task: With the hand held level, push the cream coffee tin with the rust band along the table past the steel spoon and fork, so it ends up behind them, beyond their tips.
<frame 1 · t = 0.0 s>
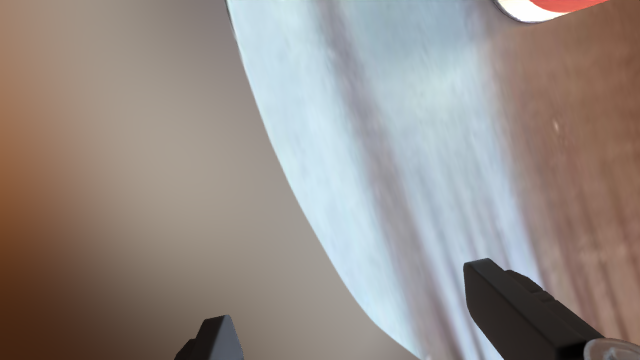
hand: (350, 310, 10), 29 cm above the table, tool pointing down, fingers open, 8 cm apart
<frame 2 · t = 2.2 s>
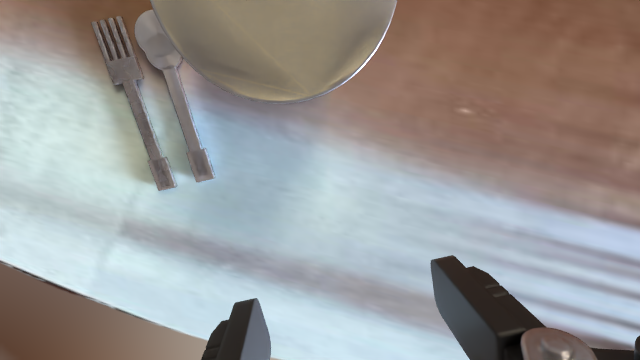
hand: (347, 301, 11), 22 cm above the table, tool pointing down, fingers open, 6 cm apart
coffee tin: (286, 29, 28), on the table
fork: (140, 108, 29), on the table
spoon: (180, 99, 29), on the table
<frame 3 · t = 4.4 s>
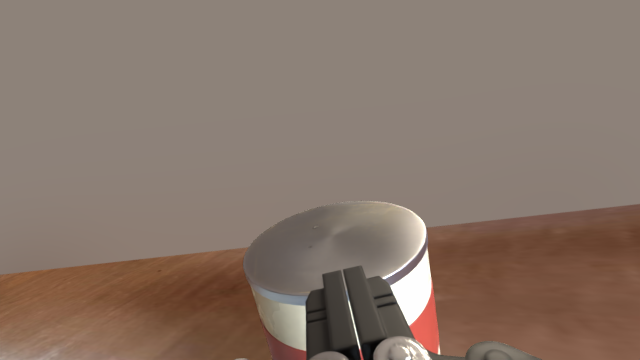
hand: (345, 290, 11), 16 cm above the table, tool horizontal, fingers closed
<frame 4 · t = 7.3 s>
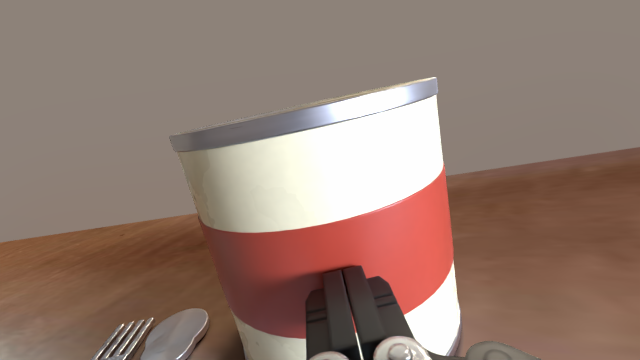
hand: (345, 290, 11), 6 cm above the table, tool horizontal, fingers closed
coffee tin: (347, 310, 19), on the table, touching gripper
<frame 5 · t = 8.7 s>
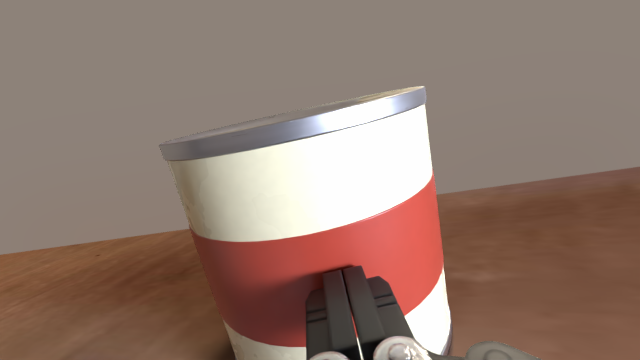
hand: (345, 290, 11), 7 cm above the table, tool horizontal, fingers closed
coffee tin: (340, 316, 19), on the table, touching gripper
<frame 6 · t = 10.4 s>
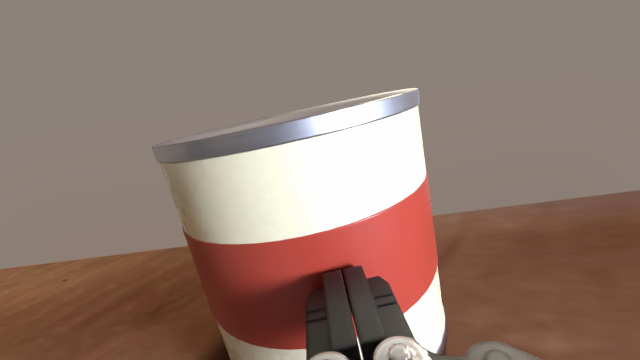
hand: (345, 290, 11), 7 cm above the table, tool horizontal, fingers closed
coffee tin: (335, 318, 19), on the table, touching gripper
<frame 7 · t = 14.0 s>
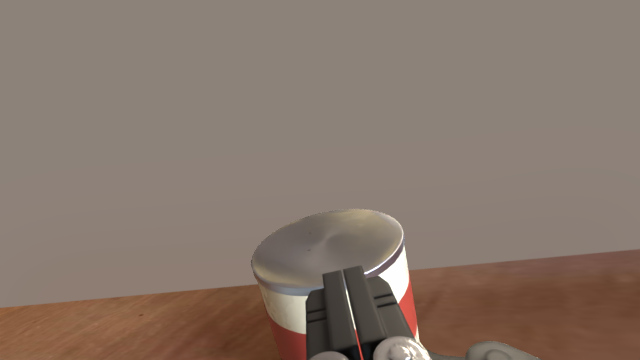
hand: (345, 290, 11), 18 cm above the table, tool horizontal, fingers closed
coffee tin: (353, 357, 29), on the table
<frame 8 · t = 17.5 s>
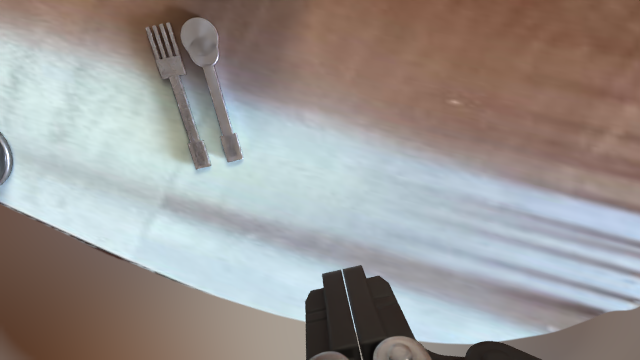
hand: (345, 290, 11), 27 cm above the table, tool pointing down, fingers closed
fork: (182, 99, 35), on the table
spoon: (216, 91, 35), on the table
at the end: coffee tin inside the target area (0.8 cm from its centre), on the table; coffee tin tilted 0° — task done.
